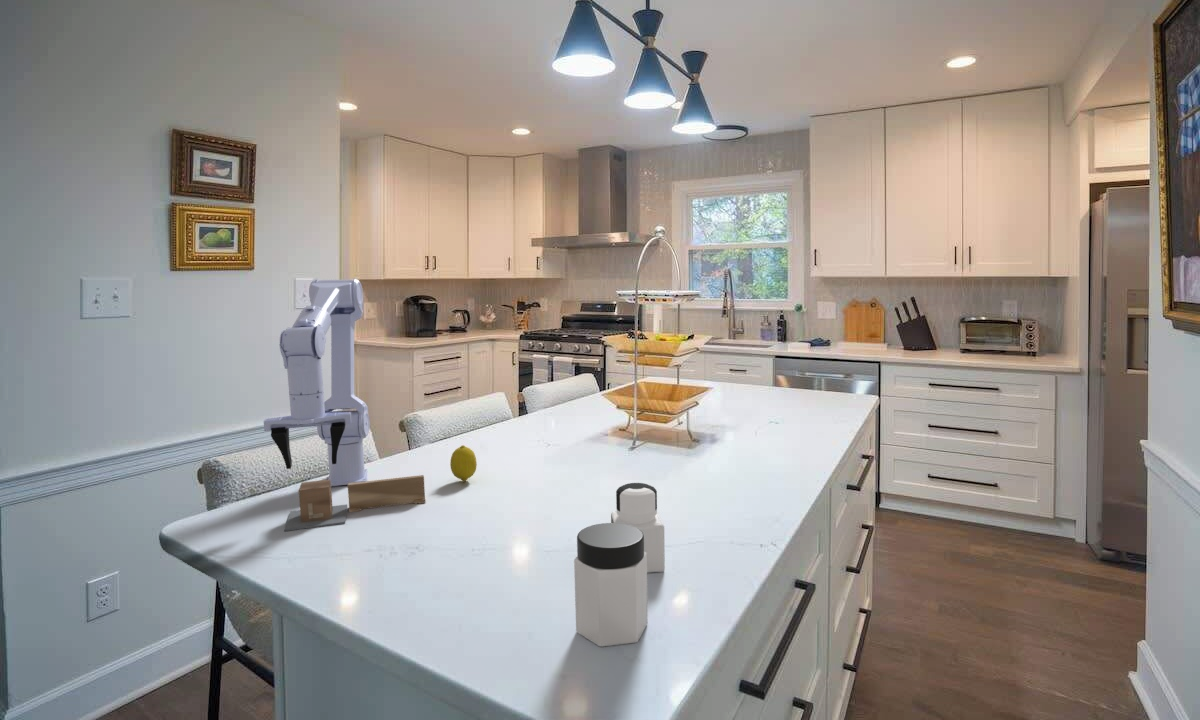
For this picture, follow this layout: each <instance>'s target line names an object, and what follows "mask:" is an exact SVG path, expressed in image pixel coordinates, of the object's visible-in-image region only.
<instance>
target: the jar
mask: <svg viewBox="0 0 1200 720" xmlns="http://www.w3.org/2000/svg"><path fill="white" fill-rule="evenodd" d="M576 543H577V544H576V549H577V554H576V557H575V558H574V560H573V563H574V598H575V599H574V601H575V604H574V605H575V631H576V633H577V634H579V635H580V636H582V637H583V638H586V639H587V640H588V641H590V642H592V643H593V644H595V645H597V646H598V647H600V648H602V647H603V648H604V647H610V646H619V645H626V644H635V643H638V641H639V640H640V638H641V637H642V634H643V633H644V631H645V628H646V627H647V625H648V617H649V615H648V573H647V553H646V552H645V551H644V534H643V533H642V531H641V530H639V529H638V528H636V527H634V526H631V525H627V524H621V523H611V522H605V523H596V524H592V525H589V526H586V527H585V528H582V529H581V530H580V531H578V533H577V536H576Z"/></svg>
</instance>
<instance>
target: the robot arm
mask: <svg viewBox="0 0 1200 720" xmlns="http://www.w3.org/2000/svg"><path fill="white" fill-rule="evenodd" d="M308 287H309V288H308V296H309V297H308V298H309V301H310V305H306V306H305V307H304V308H303V309H302V310H301V311H300V313H299V314H298V316H297V318H296V320H295V321H294V323H293V324H292V326H291V327H287V328H285V329H284V330H282V331H281V333H280V337H279V351H280V355H281V357H282V360H283V361H282V362H283V366H284V369H286V371H287V383H288V384H287V385H288V394H289V396H288V397H289V409H290V410H289V411H290V415H285V416H278V417H271V418H269V417H268V418H264V419H263V431H264V432H270V438H271V439H272V440H273V442H274V444H276V446H277V448H278V451H279V452H280V453H281V455H282V458H283V461H284V464H285V468H286V469H287V470H290V469H292V466H293V465H292V464H293V462H292V454H291V446H290V429H299V428H307V427H308V428H310V427H311V428H312V427H316V429H317V435H318V437H319V438H320V439H321V440H322V441H324V444H326V445H327V458H328V471H329V472H328V473H329V474H328V478H327V480H329V479H331V487H337V486H346V485H347V486H348V483H357V482H365V481H368V470H367V469H365V458H364V442H363V440H364V439H366V438H367V437H368V436H369V433H370V427H371V426H370V425H371V422H370V415H369V407H368V405H367V404H366V402H365V401H363V400H362V399H360V398H359V397H357V396H356V395H355V328H356V322H357V321H359V320H360V319H362V318H363V313H364V291H363V286H362V283H361V282H360V280H359V279H358V278H352V279H317V278H316V279H315V278H314V279H313V280H312V281H311V282H310V284H309V286H308ZM330 328H331V329H330ZM329 329H330V330H331V331H330V336H331V337H330V338H331V340H330V341H331V343H330V344H331V345H330V346H331V349H330V350H331V351H330V354H331V355H330V357H331V359H330V361H331V363H330V364H331V365H330V367H331V376H330V378H331V379H330V380H331V382H330V383H331V385H330V387H331V388H330V389H331V393H330V394H331V396H330V397H329V398H328V399H326V400H325V394H324V382H323V380H324V379H323V369H322V367H323V366H322V358H323V356H324V355H325V349H326V342H327V337H326V335H327V333H328V331H329ZM353 409H354V410H353ZM337 410H338V411H337ZM286 469H285V470H286Z"/></svg>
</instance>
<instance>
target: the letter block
mask: <svg viewBox="0 0 1200 720" xmlns="http://www.w3.org/2000/svg"><path fill="white" fill-rule="evenodd" d="M332 496H333V495H332V486H331V479H329V480H328V479H323V480H315V481H305V482H301V483H300V486H299V490H298V497H299V498H298V500H299V508H300V509H299V510H300V513H301V523H302V522H310V521H318V520H326V519H331V517H332V511H333V507H332V506H333V497H332Z"/></svg>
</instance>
